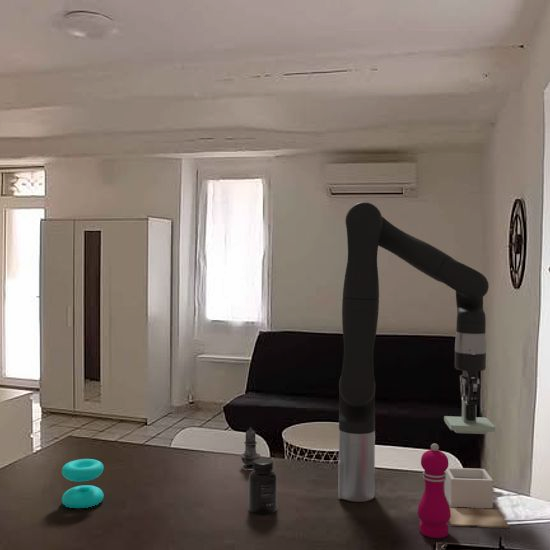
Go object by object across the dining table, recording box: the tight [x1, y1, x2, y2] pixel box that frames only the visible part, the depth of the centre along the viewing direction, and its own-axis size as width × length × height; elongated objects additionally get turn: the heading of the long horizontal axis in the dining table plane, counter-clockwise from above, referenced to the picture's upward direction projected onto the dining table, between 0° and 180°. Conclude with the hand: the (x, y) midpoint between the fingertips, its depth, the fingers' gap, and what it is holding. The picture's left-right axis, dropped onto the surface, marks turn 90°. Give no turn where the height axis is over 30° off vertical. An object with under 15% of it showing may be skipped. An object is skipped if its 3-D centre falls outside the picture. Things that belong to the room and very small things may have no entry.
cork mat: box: [448, 507, 511, 529], centre depth 154 cm, size 13×10×1 cm
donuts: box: [61, 458, 105, 509], centre depth 162 cm, size 10×10×10 cm
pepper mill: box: [417, 443, 451, 539], centre depth 146 cm, size 7×7×20 cm
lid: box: [443, 399, 496, 435], centre depth 164 cm, size 11×10×7 cm
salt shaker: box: [240, 426, 261, 469], centre depth 191 cm, size 6×6×12 cm
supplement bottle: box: [248, 457, 278, 516], centre depth 158 cm, size 7×7×12 cm
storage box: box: [444, 467, 494, 509], centre depth 165 cm, size 10×9×7 cm
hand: (468, 418), depth 164 cm, fingers closed on lid, 3 cm apart
